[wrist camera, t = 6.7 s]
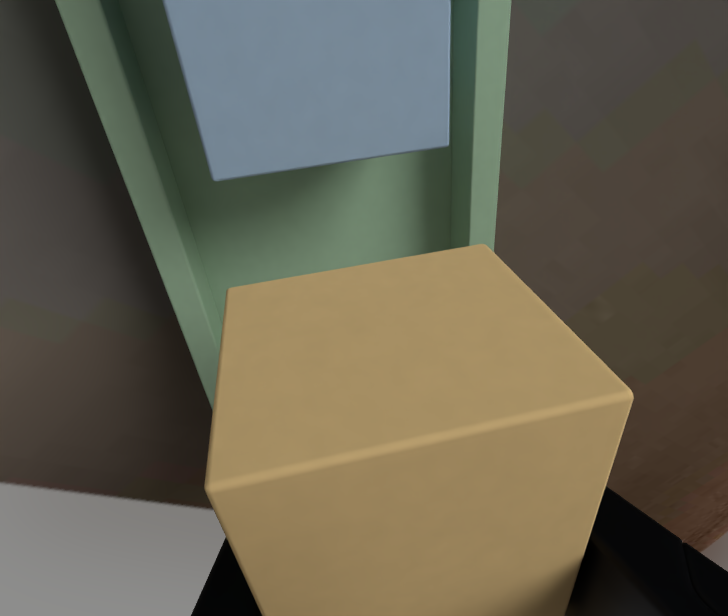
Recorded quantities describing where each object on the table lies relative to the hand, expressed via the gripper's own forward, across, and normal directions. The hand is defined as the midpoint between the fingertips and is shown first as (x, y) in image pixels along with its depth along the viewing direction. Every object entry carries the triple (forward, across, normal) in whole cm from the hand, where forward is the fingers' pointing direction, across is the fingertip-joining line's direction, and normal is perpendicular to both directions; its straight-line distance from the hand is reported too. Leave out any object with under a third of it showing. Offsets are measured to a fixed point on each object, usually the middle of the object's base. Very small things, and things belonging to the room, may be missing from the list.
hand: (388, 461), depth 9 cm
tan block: (+1, 0, 0) cm, 1 cm away
